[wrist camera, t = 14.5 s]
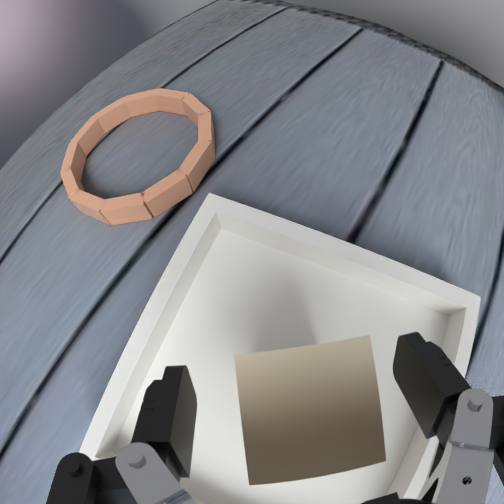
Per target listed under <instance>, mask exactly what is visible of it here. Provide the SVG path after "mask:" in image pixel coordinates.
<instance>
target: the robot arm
mask: <svg viewBox="0 0 504 504" xmlns="http://www.w3.org/2000/svg"><path fill="white" fill-rule="evenodd" d="M393 375H394V378H395V381H396V382H397V384H398V386H399V388H400V390H401V392H402V393H403V395H404V397H405V399H406V401H407V403H408V405H409V407H410V408H411V410H412V412H413V414H414V416H415V418H416V420H417V422H418V424H419V426H420V428H421V430H422V432H423V434H424V436H425V438H426V439H429V438H431V437H434V436H437V438H438V440H439V441H438V443H437V445H436V449H435V452H434V456H433V459H432V462H431V465H430V468H429V471H428V474H427V477H426V480H425V483H424V485H423V487H422V489H421V491H420V493H419V495H418V497H417V499H410V498H402V499H399V496H398V494H397V492H395V493H392V494H389V495H385V496H382V497H379V498H375V499H372V500H368V501H365V502H363V503H361V504H485V500H486V495H487V491H488V486H489V481H490V476H491V470H492V464H494V466H495V468H496V471H497V473H498V475H499V477H500V479H501V481H502V483H503V486H504V396H496V397H491V396H490V395H489V394H488V393H487V392H485V391H483V390H481V389H476V388H473V389H472V388H471V387H470V386H469V384H468V383H467V381H466V380H465V379H464V377H463V376H462V375H461V373H460V372H459V371H458V369H457V368H456V367H455V366H454V364H452V362H451V360H450V359H449V358H447V355H446V354H445V353H444V351H443V350H442V349H441V348H440V347H439V346H437V345H436V344H434V343H433V342H431V341H428V342H426V341H425V340H424V338H423V337H422V336H421V335H420V333H419V332H412V333H408V334H404V335H400V336H399V337H398V339H397V345H396V350H395V356H394V361H393ZM140 409H141V411H140V412H139V415H138V419H137V422H136V426H135V429H134V433H133V436H132V440H131V443H130V444H128V445H126V446H124V447H123V448H122V449H121V450H120V451H119V452H118V453H117V456H115V457H111V458H106V459H100V460H94V461H92V460H91V459H90V458H89V457H88V456H87V455H85V454H83V453H78V452H76V453H70V454H68V455H66V456H65V457H63V458H62V459H61V460H60V462H59V464H58V466H57V469H56V473H55V476H54V479H53V482H52V485H51V489H50V492H49V496H48V499H47V502H46V504H197V503H196V502H195V501H194V499H193V498H192V497H191V496H190V495H189V494H188V493H187V492H186V491H185V490H184V489H183V487H182V486H181V485H180V477H181V478H190V469H191V459H192V450H193V441H194V432H195V423H196V414H197V397H196V392H195V389H194V386H193V383H192V380H191V377H190V374H189V370H188V368H187V366H186V365H177V366H166V367H165V370H164V374H163V377H162V380H153V382H152V383H151V384H150V385H149V386H148V388H147V389H146V391H145V395H144V398H143V402H142V405H141V408H140Z"/></svg>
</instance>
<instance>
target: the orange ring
mask: <svg viewBox="0 0 504 504" xmlns="http://www.w3.org/2000/svg"><path fill="white" fill-rule="evenodd" d="M156 111H166V112H171V113H176V114H181V115H186V116H187V117H188V118H189V119H190V120H191V121H192V122H193V123H194V124H195V125H196V126H197V127H198V141H197V143H196V144H195V146H194V147H193V148H192V150H191V151H190V153H189V154H188V156H187V157H186V158H185V160H184V161H183V163H182V164H181V166H180V167H179V169H178V170H176V171H175V172H173V173H171V174H170V175H168V176H167V177H165V178H164V179H162V180H160V181H159V182H157V183H156V184H154V185H153V186H151V187H149V188H148V189H146V190H145V191H143V192H142V193H136V194H131V195H125V196H120V197H115V198H110V199H105V200H104V199H102V198H99V197H97V196H94V195H92V194H89V193H87V192H85V190H84V188H83V186H82V183H81V178H82V173H83V169H84V165H85V161H86V157H87V155H88V154H89V153H90V151H91V150H92V149H93V147H94V146H95V145H96V144H97V142H98V141H99V140H100V139H101V138H102V136H103V135H104V134H105V133H106V132H108V131H109V130H111V129H112V128H114V127H116V126H117V125H119V124H120V123H122V122H124V121H125V120H127V119H129V118H130V117H133V116H137V115H142V114H146V113H151V112H156ZM93 116H94V117H93ZM93 116H92V117H91V118H90V119H89V120H88V121H87V122H86V123H85V124H84V126H83V127H82V128H81V129H80V130H79V132H78V133H77V134H76V135H75V136H74V138H73V139H72V140H71V141H70V143H69V145H68V148H67V151H66V155H65V158H64V161H63V165H62V168H61V173H60V174H61V177H62V180H63V183H64V185H65V188H66V191H67V194H68V196H69V199H70V200H71V201H72V202H73V203H74V204H75V205H76V206H77V208H78V209H79V210H80V211H81V212H82V213H84V214H86V215H89V216H91V217H93V218H95V219H98V220H100V221H102V222H104V223H106V224H109V225H117V224H123V223H129V222H136V221H142V220H148V219H153V216H154V218H155V217H157V216H158V215H160V214H161V213H163V212H164V211H166V210H167V209H169V208H171V207H172V206H174V205H175V204H177V203H178V202H180V201H181V200H183V199H184V198H186V197H188V196H189V195H191V194H192V193H193V192H192V191H195V190H196V188H197V187H198V185H199V183H200V182H201V180H202V179H203V177H204V175H205V174H206V172H207V171H208V169H209V168H210V166H211V164H212V163H213V161H214V160H215V157H216V156H215V137H214V126H213V121H212V116H211V112H210V110H209V109H208V108H207V107H206V106H205V105H203V104H202V103H201V102H200V101H199V100H198V99H197V98H195V97H194V96H193V95H192V94H191V93H190V94H189V93H188V92H182V91H175V90H169V89H161V88H159V89H158V88H157V89H153V90H148V91H144V92H140V93H135V94H131V95H128V96H125V98H124V97H122V98H120V99H119V100H117V101H115V102H114V103H112V104H110V105H109V106H107V107H105V108H104V109H102V110H100V111H99V112H97V113H96V114H94V115H93Z"/></svg>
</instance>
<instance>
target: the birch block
mask: <svg viewBox="0 0 504 504" xmlns="http://www.w3.org/2000/svg"><path fill="white" fill-rule="evenodd" d="M234 359H235V369H236V378H237V388H238V397H239V406H240V415H241V423H242V432H243V440H244V449H245V457H246V465H247V472H248V480H249V486H250V485H262V484H272V483H281V482H289V481H296V480H303V479H309V478H315V477H321V476H326V475H331V474H336V473H341V472H345V471H350V470H354V469H358V468H362V467H366V466H370V465H374V464H377V463H381V462H385V461H386V453H385V441H384V431H383V422H382V413H381V405H380V397H379V390H378V382H377V376H376V369H375V363H374V356H373V350H372V345H371V339H370V335H366V336H361V337H356V338H350V339H345V340H339V341H333V342H327V343H321V344H315V345H309V346H302V347H295V348H288V349H280V350H272V351H264V352H256V353H247V354H237V355H234Z"/></svg>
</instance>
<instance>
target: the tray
mask: <svg viewBox="0 0 504 504" xmlns="http://www.w3.org/2000/svg"><path fill="white" fill-rule="evenodd" d="M480 300H481V297H480V296H478V295H475V294H473V293H471V292H468V291H466V290H464V289H461V288H459V287H457V286H455V285H452V284H450V283H447V282H445V281H443V280H440V279H438V278H436V277H433V276H431V275H428V274H426V273H424V272H421V271H419V270H416V269H414V268H411V267H409V266H407V265H404V264H402V263H399V262H397V261H394V260H392V259H389V258H387V257H384V256H382V255H379V254H377V253H374V252H372V251H369V250H366V249H364V248H361V247H359V246H356V245H353V244H351V243H348V242H346V241H343V240H340V239H338V238H335V237H332V236H330V235H327V234H324V233H322V232H319V231H316V230H314V229H311V228H308V227H306V226H303V225H300V224H297V223H295V222H292V221H289V220H286V219H284V218H281V217H278V216H275V215H272V214H269V213H267V212H264V211H261V210H258V209H255V208H252V207H249V206H247V205H244V204H241V203H238V202H235V201H232V200H229V199H226V198H223V197H220V196H217V195H214V194H211V193H209V194H208V195H207V197H206V199H205V200H204V202H203V204H202V205H201V207H200V209H199V210H198V212H197V214H196V216H195V217H194V219H193V221H192V223H191V224H190V226H189V228H188V230H187V231H186V233H185V235H184V237H183V238H182V240H181V242H180V244H179V246H178V247H177V249H176V251H175V253H174V255H173V256H172V258H171V260H170V262H169V264H168V266H167V267H166V269H165V271H164V273H163V275H162V277H161V279H160V280H159V282H158V284H157V286H156V288H155V290H154V292H153V294H152V296H151V297H150V299H149V301H148V303H147V305H146V307H145V309H144V311H143V313H142V315H141V317H140V319H139V321H138V323H137V325H136V327H135V329H134V331H133V333H132V335H131V337H130V339H129V341H128V343H127V345H126V347H125V349H124V351H123V353H122V356H121V358H120V360H119V362H118V364H117V366H116V368H115V370H114V372H113V375H112V377H111V379H110V381H109V383H108V386H107V388H106V390H105V392H104V394H103V397H102V399H101V401H100V403H99V406H98V408H97V410H96V412H95V415H94V417H93V419H92V422H91V424H90V427H89V429H88V431H87V434H86V436H85V439H84V441H83V443H82V446H81V448H80V451H79V453H83V454H85V455H87V456H88V457H89V458H90V459H91V460H92V461H94V460H100V459H106V458H111V457H115V456H117V453H118V452H119V451H120V450H121V449H122V448H123V447H124V446H126V445H128V444H130V443H131V440H132V436H133V433H134V429H135V426H136V422H137V419H138V415H139V412H140V411H141V409H140V408H141V405H142V402H143V398H144V395H145V391H146V389H147V388H148V386H149V385H150V384H151V383H152V382H153V380H162V377H163V374H164V370H165V367H166V366H177V365H186V366H187V368H188V370H189V374H190V377H191V380H192V383H193V386H194V389H195V392H196V397H197V414H196V423H195V432H194V441H193V450H192V459H191V469H190V478H181V477H180V485H181V486H182V487H183V489H184V490H185V491H186V492H187V493H188V494H189V495H190V496H191V497H192V498H193V499H194V501H195V502H196V503H197V504H361V503H363V502H365V501H368V500H372V499H375V498H379V497H382V496H385V495H389V494H392V493H395V492H397V494H398V496H399V499H402V498H410V499H417V497H418V495H419V493H420V491H421V489H422V487H423V485H424V483H425V480H426V477H427V474H428V471H429V468H430V465H431V462H432V459H433V456H434V452H435V449H436V445H437V443H438V441H439V440H438V438H437V436H434V437H431V438H429V439H426V438H425V436H424V434H423V432H422V430H421V428H420V426H419V424H418V422H417V420H416V418H415V416H414V414H413V412H412V410H411V408H410V407H409V405H408V403H407V401H406V399H405V397H404V395H403V393H402V392H401V390H400V388H399V386H398V384H397V382H396V381H395V378H394V375H393V361H394V356H395V350H396V345H397V339H398V337H399V336H400V335H404V334H408V333H412V332H419V333H420V335H421V336H422V337H423V338H424V340H425V341H426V342H428V341H431V342H433V343H434V344H436V345H437V346H439V347H440V348H441V349H442V350H443V351H444V353H445V354H446V355H447V358H449V359H450V360H451V362H452V364H454V366H455V367H456V368H457V369H458V371H459V372H460V373H461V375H462V376H463V377H464V378H465V375H466V371H467V367H468V363H469V359H470V354H471V350H472V345H473V340H474V335H475V330H476V325H477V319H478V313H479V307H480ZM366 335H370V339H371V345H372V350H373V356H374V363H375V369H376V376H377V382H378V390H379V397H380V405H381V413H382V422H383V431H384V441H385V453H386V461H385V462H381V463H377V464H374V465H370V466H366V467H362V468H358V469H354V470H350V471H345V472H341V473H336V474H331V475H326V476H321V477H315V478H309V479H303V480H296V481H289V482H281V483H272V484H262V485H250V486H249V480H248V472H247V465H246V457H245V449H244V440H243V432H242V423H241V415H240V406H239V397H238V388H237V378H236V369H235V359H234V355H237V354H247V353H256V352H264V351H272V350H280V349H288V348H295V347H302V346H309V345H315V344H321V343H327V342H333V341H339V340H345V339H350V338H356V337H361V336H366Z"/></svg>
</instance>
